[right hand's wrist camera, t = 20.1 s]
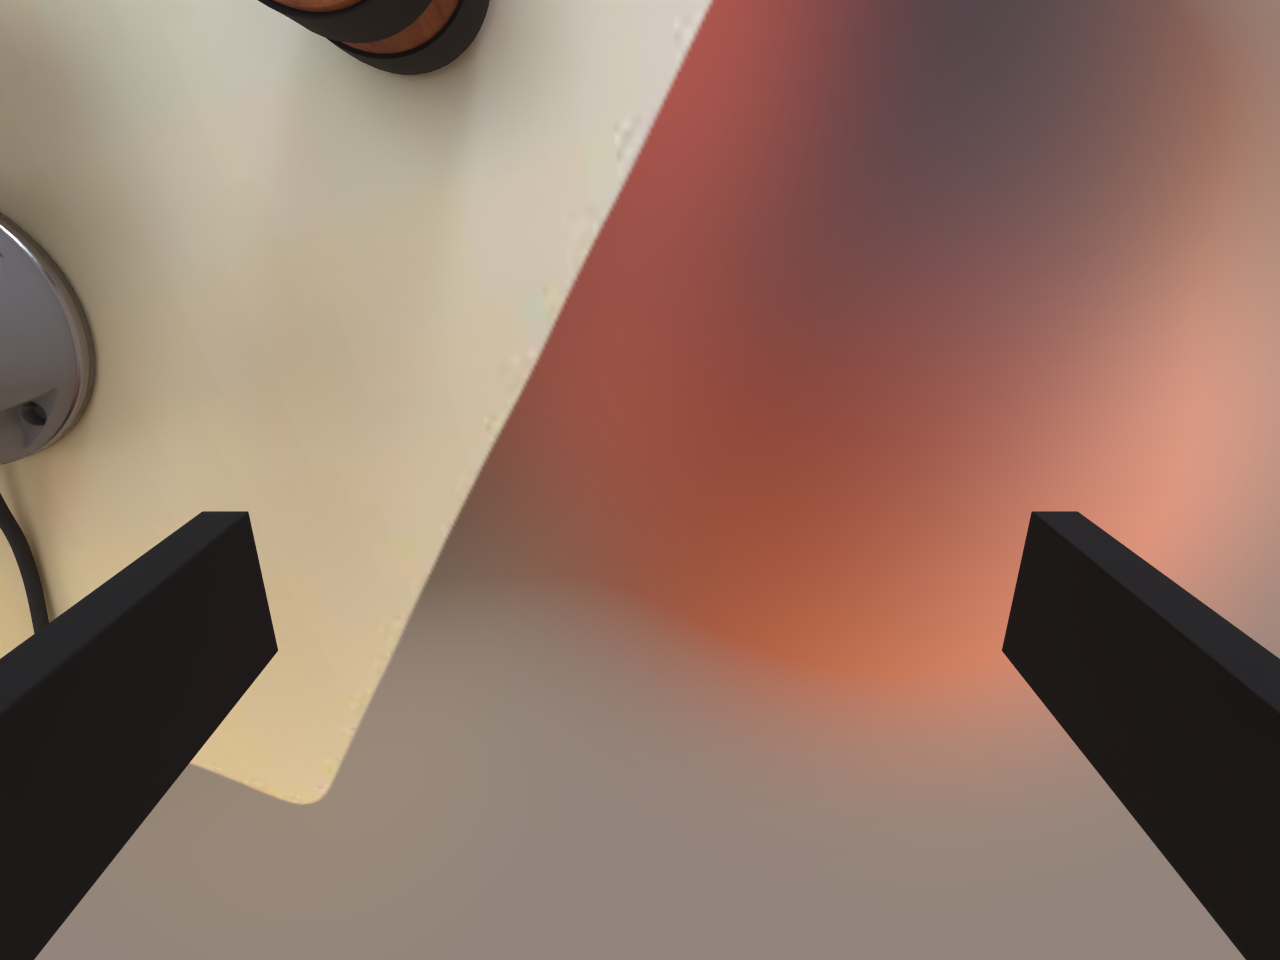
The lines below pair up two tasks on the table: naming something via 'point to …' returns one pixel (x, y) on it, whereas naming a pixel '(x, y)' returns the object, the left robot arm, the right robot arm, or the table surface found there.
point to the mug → (392, 29)
